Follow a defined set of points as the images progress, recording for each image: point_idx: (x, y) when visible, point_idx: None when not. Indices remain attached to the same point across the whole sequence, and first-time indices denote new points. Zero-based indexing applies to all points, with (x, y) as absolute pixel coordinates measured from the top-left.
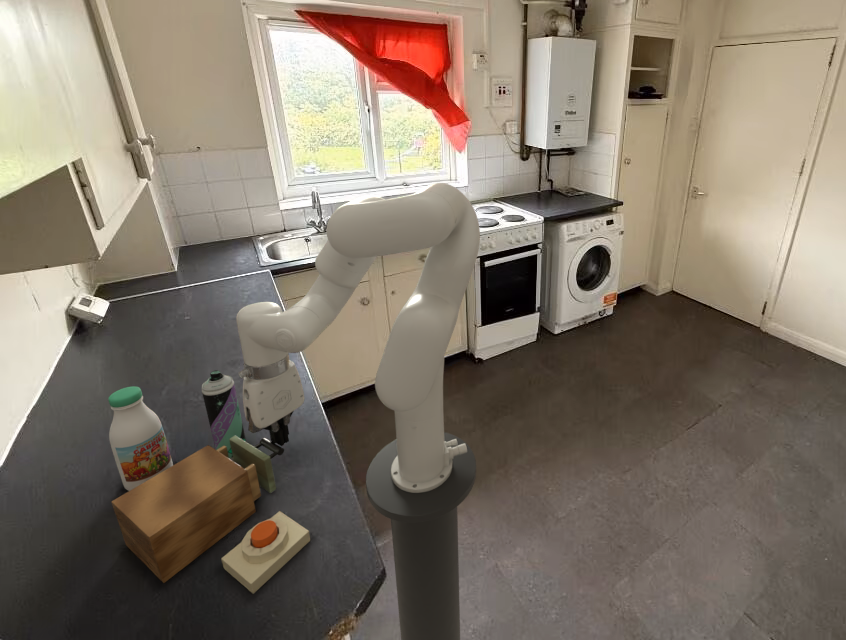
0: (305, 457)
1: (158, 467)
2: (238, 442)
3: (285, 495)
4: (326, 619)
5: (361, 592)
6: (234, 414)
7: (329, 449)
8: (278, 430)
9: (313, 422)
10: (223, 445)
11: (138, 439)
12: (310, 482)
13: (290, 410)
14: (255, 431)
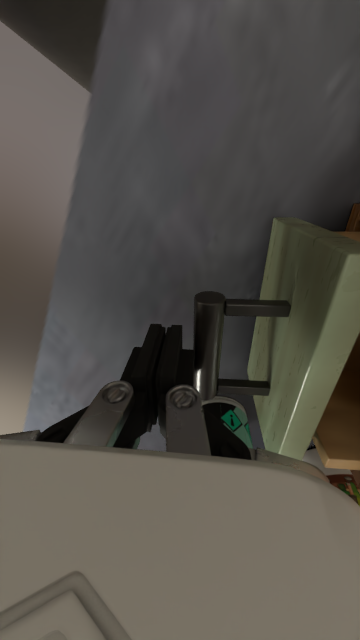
0: (132, 267)
1: (348, 485)
2: (300, 447)
3: (267, 176)
4: None
5: None
6: None
7: (66, 229)
8: (173, 383)
9: (54, 354)
10: (249, 447)
11: None
12: (188, 146)
13: (40, 471)
14: (301, 468)
